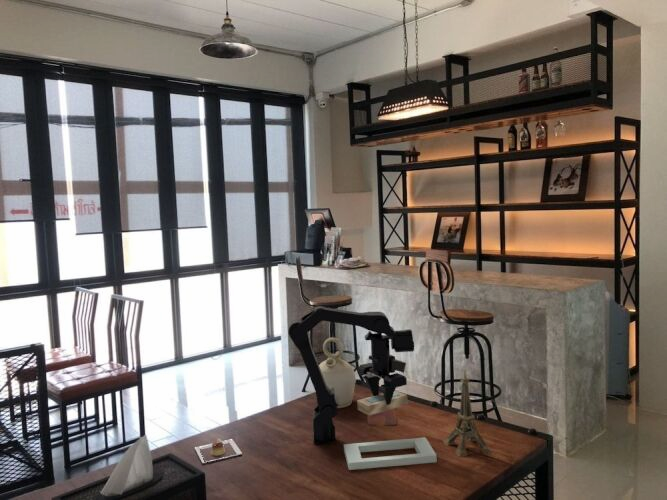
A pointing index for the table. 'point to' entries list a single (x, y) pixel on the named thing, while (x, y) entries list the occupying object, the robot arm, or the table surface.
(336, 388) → the jug
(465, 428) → the eiffel tower
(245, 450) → the table surface
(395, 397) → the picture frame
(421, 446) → the pale grey open frame
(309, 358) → the robot arm
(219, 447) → the dessert
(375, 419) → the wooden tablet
